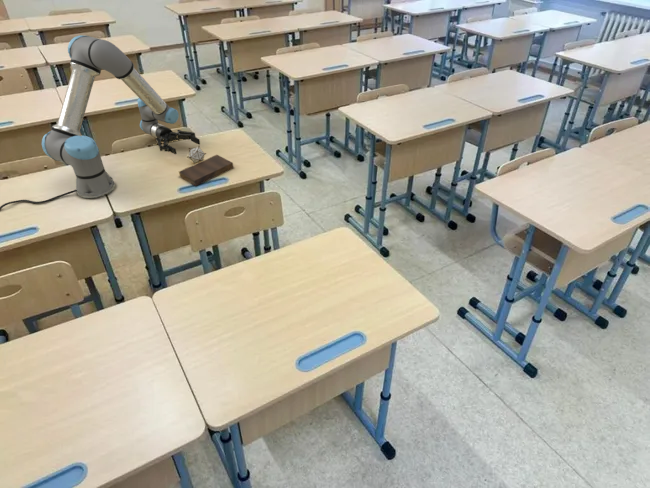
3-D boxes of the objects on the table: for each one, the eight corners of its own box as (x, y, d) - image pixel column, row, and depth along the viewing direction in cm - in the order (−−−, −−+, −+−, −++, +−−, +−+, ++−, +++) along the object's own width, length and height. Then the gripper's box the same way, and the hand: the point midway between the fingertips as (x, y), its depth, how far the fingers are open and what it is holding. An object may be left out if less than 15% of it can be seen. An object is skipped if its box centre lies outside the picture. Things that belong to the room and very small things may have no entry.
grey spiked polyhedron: (202, 170, 221) (203, 161, 212) (184, 165, 219) (185, 155, 210) (206, 155, 224) (208, 145, 215) (189, 149, 222) (190, 139, 213)
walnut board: (195, 186, 203) (194, 180, 201) (179, 176, 209) (178, 171, 207) (233, 168, 216) (232, 162, 214) (217, 159, 222) (216, 154, 220)
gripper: (184, 132, 237) (209, 145, 227) (141, 148, 223) (166, 163, 212) (181, 118, 233) (207, 131, 222) (138, 134, 218) (163, 148, 207)
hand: (187, 146), depth 217 cm, fingers open, 13 cm apart
